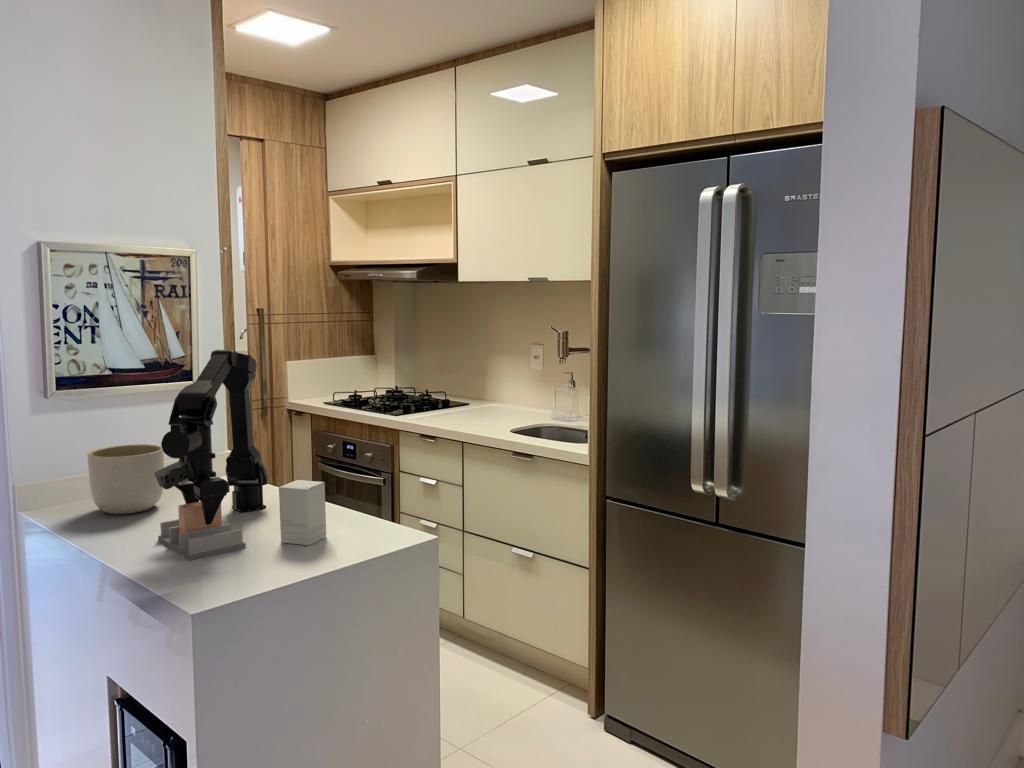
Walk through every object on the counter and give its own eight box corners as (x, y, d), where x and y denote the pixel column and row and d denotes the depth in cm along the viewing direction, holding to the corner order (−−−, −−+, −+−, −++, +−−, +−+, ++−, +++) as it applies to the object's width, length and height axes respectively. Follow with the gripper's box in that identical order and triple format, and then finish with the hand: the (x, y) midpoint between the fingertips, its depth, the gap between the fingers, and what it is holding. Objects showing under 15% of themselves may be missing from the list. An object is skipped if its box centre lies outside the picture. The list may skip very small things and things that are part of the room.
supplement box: (327, 536, 171) (326, 481, 169) (308, 546, 164) (306, 489, 162) (299, 533, 173) (297, 478, 172) (279, 542, 166) (277, 486, 165)
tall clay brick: (216, 534, 169) (215, 498, 168) (222, 537, 167) (221, 501, 166) (180, 541, 163) (178, 505, 163) (185, 544, 161) (183, 508, 160)
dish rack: (212, 529, 176) (211, 512, 175) (245, 547, 163) (244, 529, 162) (158, 540, 168) (157, 522, 167) (188, 560, 154) (187, 541, 154)
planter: (171, 512, 190) (168, 452, 188) (94, 523, 180) (90, 460, 179) (159, 497, 204) (157, 441, 202) (87, 506, 194) (84, 448, 193)
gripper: (143, 447, 164) (146, 517, 166) (173, 460, 151) (177, 537, 152) (195, 441, 172) (198, 508, 173) (229, 453, 158) (231, 526, 160)
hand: (200, 519), depth 164 cm, fingers open, 9 cm apart
